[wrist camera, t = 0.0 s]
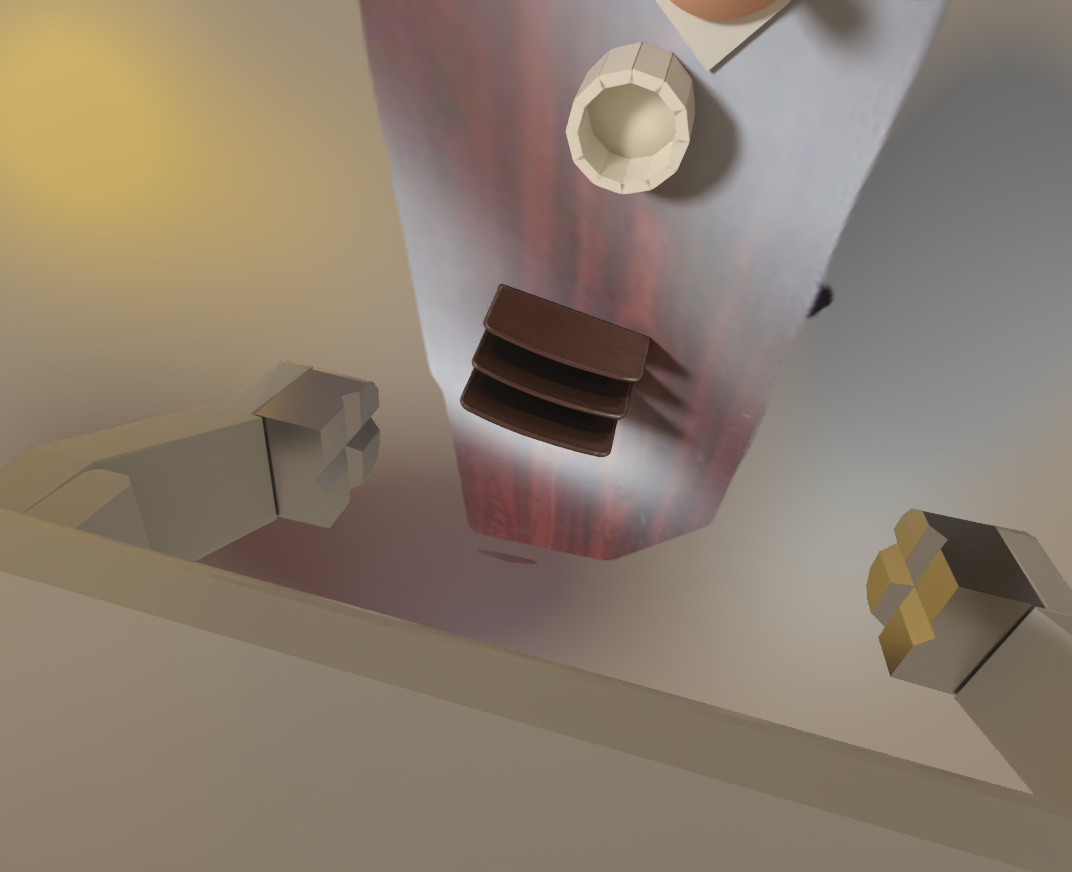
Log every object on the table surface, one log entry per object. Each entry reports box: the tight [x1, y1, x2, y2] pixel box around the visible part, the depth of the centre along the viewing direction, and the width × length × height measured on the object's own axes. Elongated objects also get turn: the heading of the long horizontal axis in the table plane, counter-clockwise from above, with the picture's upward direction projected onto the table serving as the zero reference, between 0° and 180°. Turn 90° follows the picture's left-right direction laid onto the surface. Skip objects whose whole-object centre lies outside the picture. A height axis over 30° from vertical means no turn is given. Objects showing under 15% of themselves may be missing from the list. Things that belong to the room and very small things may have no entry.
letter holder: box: [460, 284, 650, 457], centre depth 75 cm, size 10×20×14 cm, turn 76°
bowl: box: [566, 42, 696, 194], centre depth 53 cm, size 10×10×6 cm
